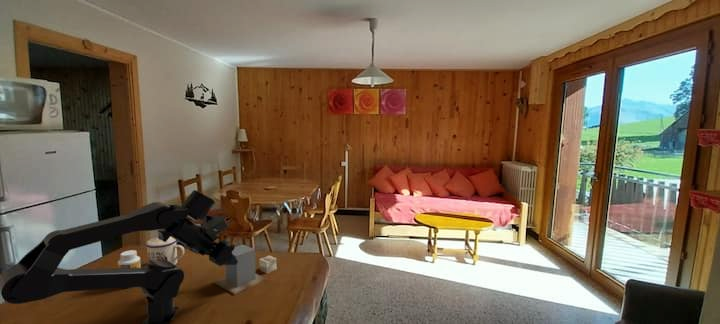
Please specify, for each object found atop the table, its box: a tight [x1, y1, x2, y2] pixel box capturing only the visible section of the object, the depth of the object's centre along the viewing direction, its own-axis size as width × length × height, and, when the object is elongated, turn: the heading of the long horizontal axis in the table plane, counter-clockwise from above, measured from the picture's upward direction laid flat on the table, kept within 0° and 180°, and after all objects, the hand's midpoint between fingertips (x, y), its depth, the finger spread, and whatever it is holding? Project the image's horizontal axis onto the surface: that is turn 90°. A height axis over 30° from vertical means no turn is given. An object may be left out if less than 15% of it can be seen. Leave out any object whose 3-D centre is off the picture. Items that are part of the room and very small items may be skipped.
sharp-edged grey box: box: [224, 244, 257, 287], centre depth 97 cm, size 6×6×10 cm
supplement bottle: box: [117, 249, 142, 268], centre depth 94 cm, size 6×6×10 cm
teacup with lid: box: [145, 235, 185, 266], centre depth 107 cm, size 12×9×12 cm
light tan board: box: [214, 273, 267, 296], centre depth 97 cm, size 11×11×1 cm
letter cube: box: [259, 255, 278, 274], centre depth 106 cm, size 4×4×4 cm
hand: (228, 259), depth 93 cm, fingers open, 9 cm apart
